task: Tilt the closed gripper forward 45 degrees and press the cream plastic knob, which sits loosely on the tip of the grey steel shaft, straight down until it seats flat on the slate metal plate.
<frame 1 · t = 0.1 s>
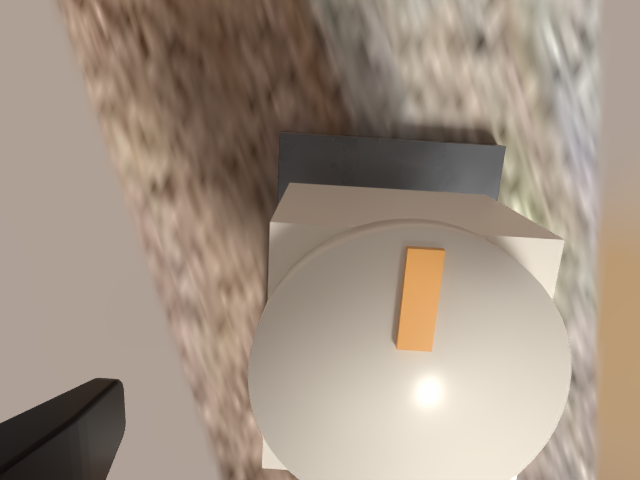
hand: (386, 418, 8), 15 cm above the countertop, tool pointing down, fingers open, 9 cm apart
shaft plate: (377, 267, 23), on the countertop
knob: (390, 322, 15), point 8 cm above the countertop, slide at 3.5 cm
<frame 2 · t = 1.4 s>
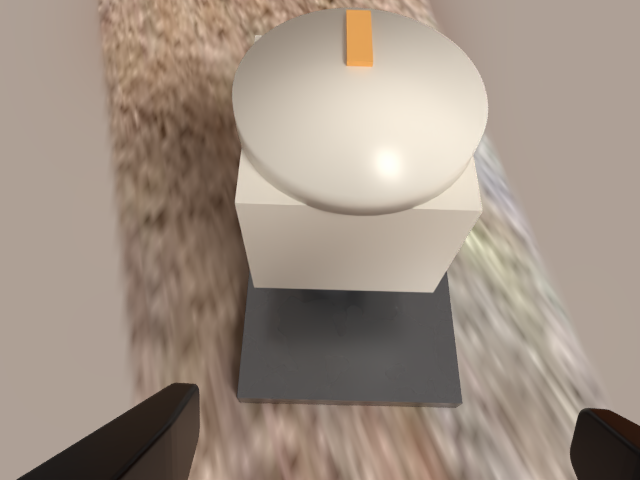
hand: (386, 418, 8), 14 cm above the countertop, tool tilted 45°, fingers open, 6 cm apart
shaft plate: (347, 279, 24), on the countertop
knob: (350, 160, 17), point 8 cm above the countertop, slide at 3.5 cm
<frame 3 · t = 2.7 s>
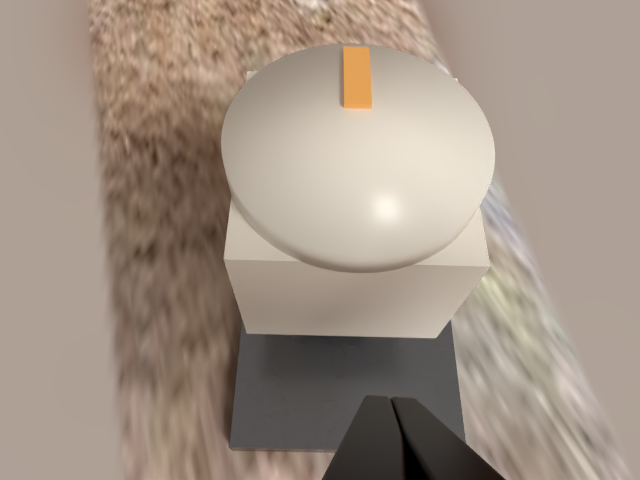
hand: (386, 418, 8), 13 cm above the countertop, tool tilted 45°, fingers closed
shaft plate: (345, 316, 23), on the countertop
knob: (348, 202, 16), point 8 cm above the countertop, slide at 3.5 cm
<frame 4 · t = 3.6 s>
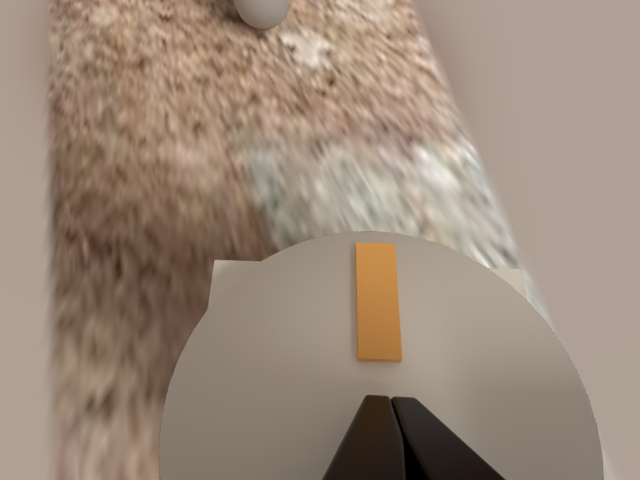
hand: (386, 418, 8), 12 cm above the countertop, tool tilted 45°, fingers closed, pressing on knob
donut: (263, 15, 32), on the countertop
knob: (360, 443, 11), point 8 cm above the countertop, slide at 3.5 cm, touching gripper
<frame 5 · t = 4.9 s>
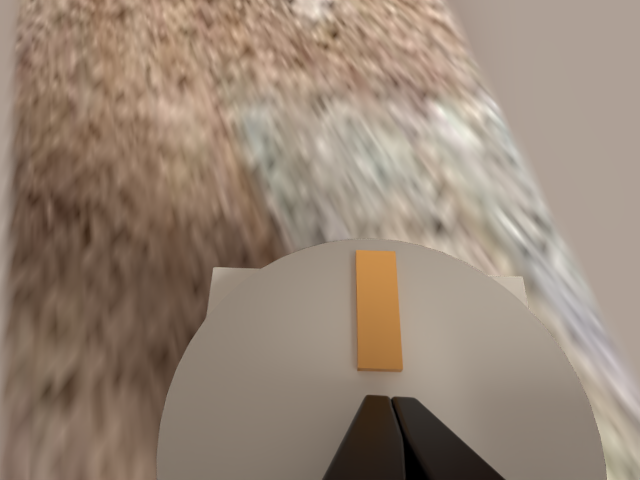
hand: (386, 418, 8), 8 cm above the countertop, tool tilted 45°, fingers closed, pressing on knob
knob: (361, 452, 11), point 5 cm above the countertop, slide at -0.1 cm, touching gripper, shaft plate
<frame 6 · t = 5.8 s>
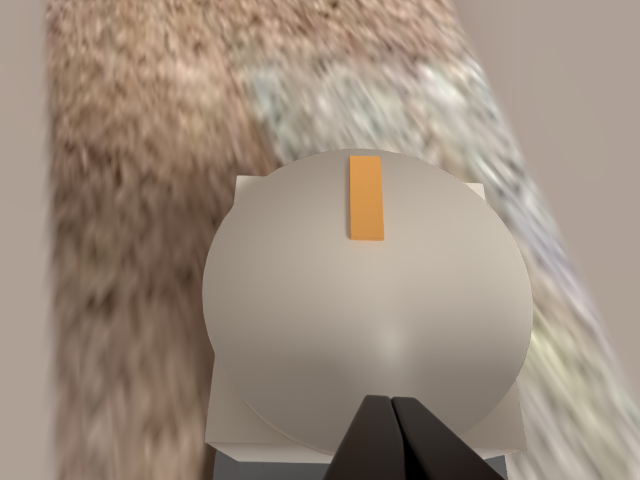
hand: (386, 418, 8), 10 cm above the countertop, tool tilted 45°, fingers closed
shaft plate: (356, 391, 18), on the countertop
knob: (354, 324, 14), point 5 cm above the countertop, slide at -0.1 cm, touching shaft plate
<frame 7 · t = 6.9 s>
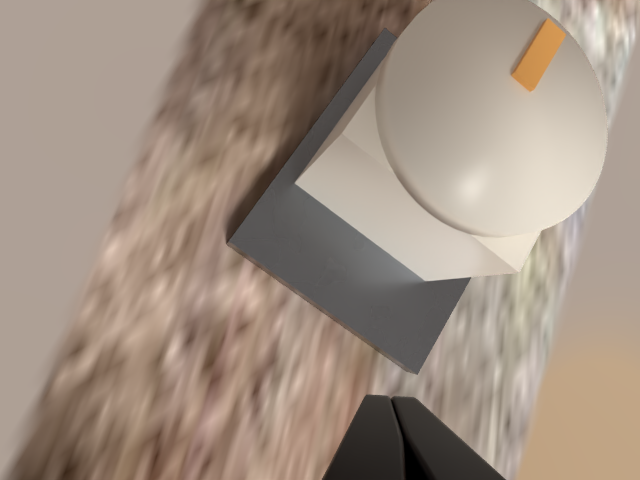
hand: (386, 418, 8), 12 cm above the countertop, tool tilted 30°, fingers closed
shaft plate: (390, 199, 22), on the countertop
knob: (446, 143, 18), point 5 cm above the countertop, slide at -0.1 cm, touching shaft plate
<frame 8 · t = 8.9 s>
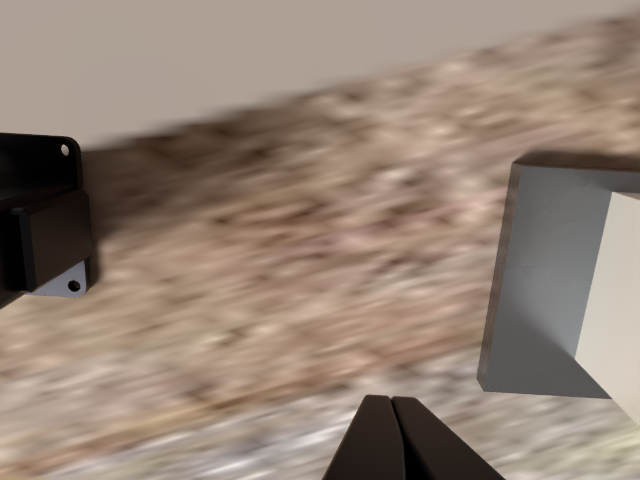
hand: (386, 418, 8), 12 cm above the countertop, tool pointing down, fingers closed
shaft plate: (637, 286, 20), on the countertop
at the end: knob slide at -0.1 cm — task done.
